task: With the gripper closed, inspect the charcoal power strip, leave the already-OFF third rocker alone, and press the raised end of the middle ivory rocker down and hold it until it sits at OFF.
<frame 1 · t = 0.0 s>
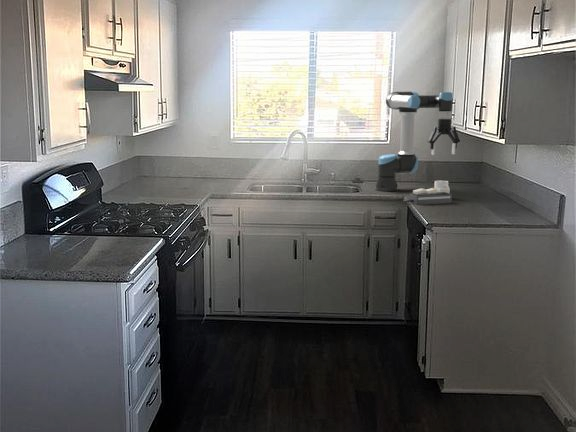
hand: (443, 154, 386), 28 cm above the table, fingers open, 13 cm apart
mug: (442, 198, 400), on the table
power strip: (430, 202, 385), on the table
rocker 2: (430, 190, 383), point 7 cm above the table, hinge at 12.0°
rocker 1: (419, 191, 381), point 7 cm above the table, hinge at 12.0°
rocker 3: (442, 190, 386), point 7 cm above the table, hinge at -12.0°
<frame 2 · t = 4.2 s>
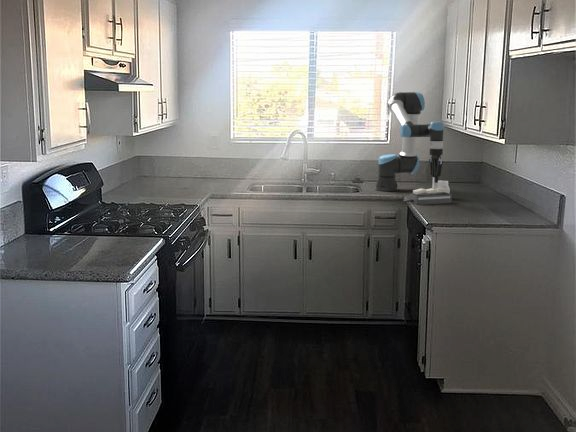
hand: (435, 187, 384), 9 cm above the table, fingers closed
rocker 2: (430, 190, 383), point 7 cm above the table, hinge at 8.9°, touching gripper
everything else where it was.
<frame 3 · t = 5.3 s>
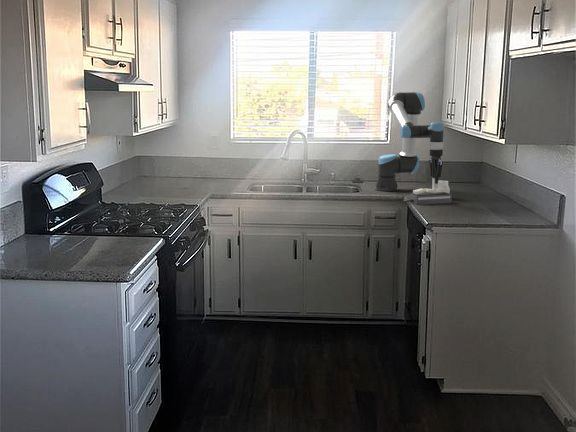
hand: (435, 188, 384), 8 cm above the table, fingers closed, pressing on rocker 2
rocker 2: (430, 190, 383), point 7 cm above the table, hinge at -6.4°, touching gripper
everything else where it was.
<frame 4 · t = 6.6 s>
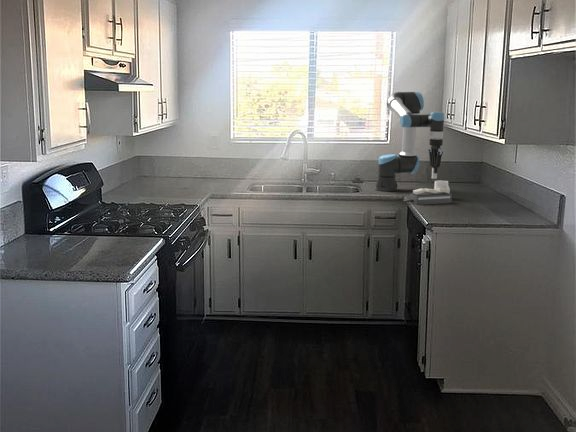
hand: (434, 178, 383), 14 cm above the table, fingers closed
rocker 2: (431, 190, 383), point 7 cm above the table, hinge at -10.6°
everything else where it was.
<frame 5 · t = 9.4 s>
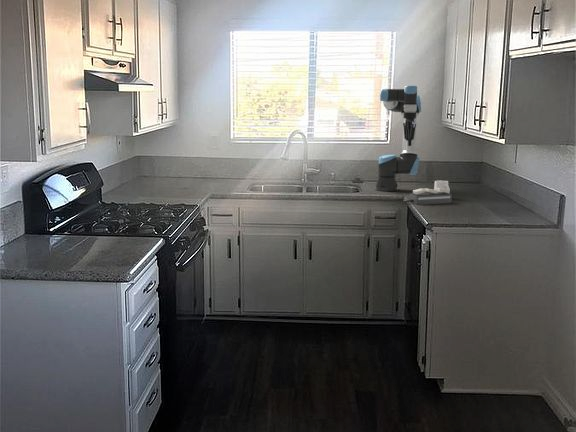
hand: (408, 151, 391), 29 cm above the table, fingers closed
rocker 2: (431, 190, 383), point 7 cm above the table, hinge at -12.3°
everything else where it was.
at the end: rocker 2 at -12° (first picture: +12°); rocker 1 at +12° (first picture: +12°); rocker 3 at -12° (first picture: -12°) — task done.
